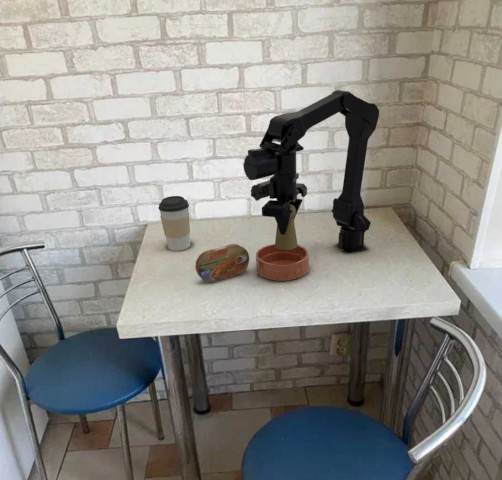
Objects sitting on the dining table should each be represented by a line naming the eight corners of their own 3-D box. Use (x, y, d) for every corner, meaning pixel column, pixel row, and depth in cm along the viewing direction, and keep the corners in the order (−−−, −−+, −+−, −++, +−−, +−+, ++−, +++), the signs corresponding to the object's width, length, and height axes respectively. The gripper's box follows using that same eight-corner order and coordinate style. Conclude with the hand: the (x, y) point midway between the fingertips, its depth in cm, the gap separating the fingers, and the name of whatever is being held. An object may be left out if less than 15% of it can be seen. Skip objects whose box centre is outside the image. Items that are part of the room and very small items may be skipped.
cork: (295, 250, 138) (295, 209, 132) (272, 249, 139) (271, 208, 133) (298, 241, 143) (298, 201, 137) (276, 240, 144) (275, 200, 138)
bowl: (296, 256, 153) (296, 239, 150) (316, 276, 142) (317, 259, 139) (249, 264, 150) (249, 248, 147) (266, 286, 138) (266, 269, 136)
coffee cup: (158, 250, 162) (151, 202, 154) (173, 238, 169) (166, 192, 160) (185, 253, 159) (178, 204, 150) (198, 241, 166) (193, 194, 157)
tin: (200, 285, 140) (196, 256, 136) (195, 281, 143) (192, 252, 138) (250, 271, 146) (249, 243, 141) (245, 267, 148) (243, 239, 144)
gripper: (267, 159, 140) (269, 216, 149) (240, 180, 126) (243, 242, 135) (307, 161, 137) (307, 219, 145) (284, 183, 122) (285, 246, 131)
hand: (285, 231), depth 139 cm, fingers closed on cork, 4 cm apart
